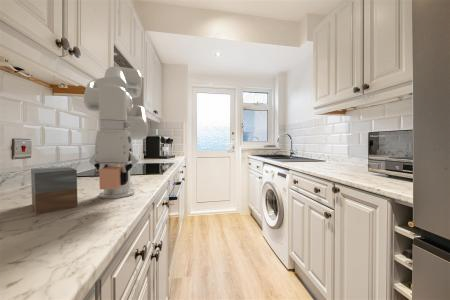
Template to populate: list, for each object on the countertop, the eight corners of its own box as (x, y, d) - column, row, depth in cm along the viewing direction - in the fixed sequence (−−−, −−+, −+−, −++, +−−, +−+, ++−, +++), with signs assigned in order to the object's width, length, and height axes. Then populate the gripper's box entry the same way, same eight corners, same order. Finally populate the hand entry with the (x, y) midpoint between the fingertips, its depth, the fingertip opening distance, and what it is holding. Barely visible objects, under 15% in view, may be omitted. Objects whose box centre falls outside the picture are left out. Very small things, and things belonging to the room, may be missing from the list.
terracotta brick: (112, 182, 70) (112, 165, 69) (127, 183, 70) (127, 165, 70) (99, 189, 62) (99, 169, 61) (117, 189, 62) (116, 169, 62)
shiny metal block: (32, 204, 70) (30, 168, 69) (68, 198, 77) (67, 166, 77) (36, 214, 60) (34, 173, 60) (77, 206, 67) (76, 169, 67)
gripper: (145, 127, 69) (145, 181, 70) (92, 126, 68) (93, 181, 69) (137, 126, 61) (137, 187, 63) (77, 125, 60) (79, 187, 62)
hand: (114, 183), depth 66 cm, fingers closed on terracotta brick, 5 cm apart
